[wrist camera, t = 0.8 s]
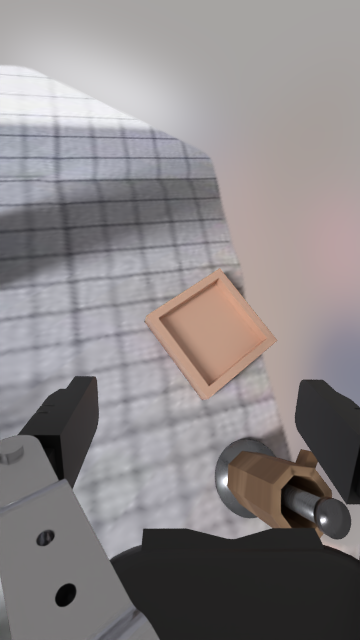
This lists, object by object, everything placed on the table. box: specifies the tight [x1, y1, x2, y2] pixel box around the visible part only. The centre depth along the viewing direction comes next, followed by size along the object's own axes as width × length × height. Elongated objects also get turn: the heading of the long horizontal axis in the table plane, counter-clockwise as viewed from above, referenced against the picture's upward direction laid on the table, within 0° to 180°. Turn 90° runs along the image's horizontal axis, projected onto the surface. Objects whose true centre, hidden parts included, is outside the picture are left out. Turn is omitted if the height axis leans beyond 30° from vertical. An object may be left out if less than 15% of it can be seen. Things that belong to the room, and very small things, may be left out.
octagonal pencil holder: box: [227, 449, 332, 538], centre depth 29 cm, size 5×7×10 cm
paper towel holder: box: [215, 439, 351, 539], centre depth 27 cm, size 8×8×14 cm
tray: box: [145, 268, 277, 400], centre depth 37 cm, size 12×12×2 cm
